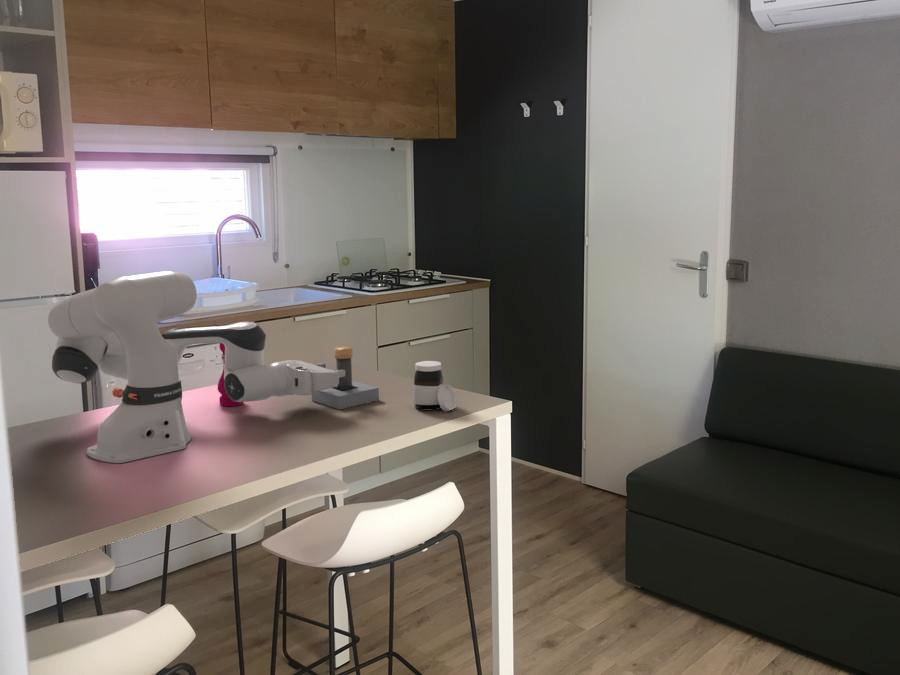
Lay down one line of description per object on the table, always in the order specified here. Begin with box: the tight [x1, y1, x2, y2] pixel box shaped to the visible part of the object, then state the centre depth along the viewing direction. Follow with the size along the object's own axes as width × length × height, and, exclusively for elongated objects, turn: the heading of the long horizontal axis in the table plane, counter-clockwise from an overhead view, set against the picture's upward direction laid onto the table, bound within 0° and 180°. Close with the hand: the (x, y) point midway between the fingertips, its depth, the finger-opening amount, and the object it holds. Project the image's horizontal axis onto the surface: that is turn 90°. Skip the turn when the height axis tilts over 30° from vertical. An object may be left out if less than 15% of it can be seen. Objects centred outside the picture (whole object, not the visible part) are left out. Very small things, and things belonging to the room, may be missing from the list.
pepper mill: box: [217, 343, 244, 407], centre depth 226 cm, size 7×7×20 cm
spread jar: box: [413, 360, 458, 412], centre depth 220 cm, size 12×11×12 cm
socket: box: [311, 380, 380, 410], centre depth 230 cm, size 13×13×4 cm
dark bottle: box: [333, 346, 353, 391], centre depth 229 cm, size 5×5×14 cm
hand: (333, 369), depth 226 cm, fingers open, 8 cm apart
